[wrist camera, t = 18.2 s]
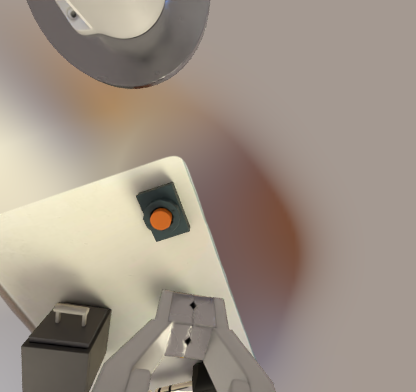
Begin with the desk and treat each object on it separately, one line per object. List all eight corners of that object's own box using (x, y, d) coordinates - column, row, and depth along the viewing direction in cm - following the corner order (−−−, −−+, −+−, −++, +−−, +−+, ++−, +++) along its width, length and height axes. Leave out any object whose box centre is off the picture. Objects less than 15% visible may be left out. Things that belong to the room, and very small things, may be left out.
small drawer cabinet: (58, 302, 43) (20, 346, 34) (111, 309, 44) (88, 353, 35) (57, 347, 47) (22, 397, 37) (106, 352, 48) (84, 402, 39)
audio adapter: (243, 405, 48) (146, 426, 48) (239, 379, 53) (151, 399, 53) (235, 375, 45) (132, 398, 45) (231, 351, 50) (139, 372, 50)
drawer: (59, 286, 41) (28, 318, 33) (109, 293, 42) (90, 326, 35) (57, 344, 45) (29, 384, 38) (102, 349, 46) (84, 389, 39)
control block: (139, 192, 37) (132, 198, 33) (172, 181, 37) (170, 186, 33) (158, 236, 40) (154, 246, 36) (190, 226, 40) (189, 235, 36)
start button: (149, 211, 35) (146, 214, 33) (167, 205, 34) (166, 208, 33) (156, 228, 36) (154, 232, 34) (174, 222, 35) (173, 226, 34)
